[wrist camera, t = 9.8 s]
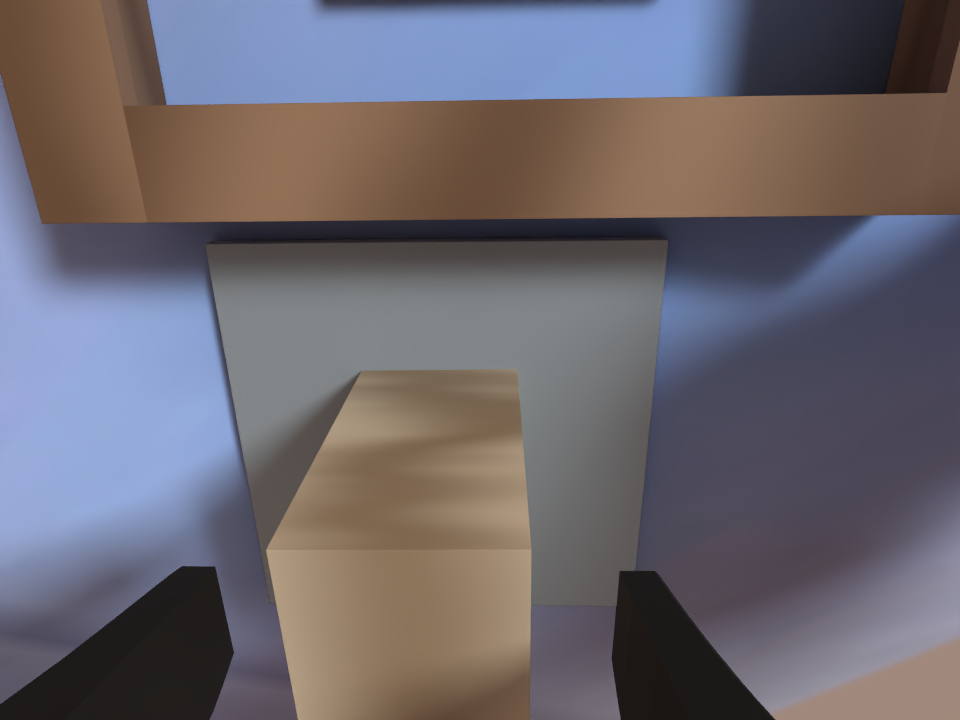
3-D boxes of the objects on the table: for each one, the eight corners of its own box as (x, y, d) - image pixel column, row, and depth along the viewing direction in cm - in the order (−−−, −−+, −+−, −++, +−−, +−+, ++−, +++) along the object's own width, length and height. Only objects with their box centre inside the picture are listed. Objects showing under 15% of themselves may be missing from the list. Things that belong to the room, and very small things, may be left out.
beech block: (517, 369, 16) (531, 549, 9) (517, 501, 17) (529, 737, 11) (361, 370, 16) (266, 549, 9) (374, 501, 17) (300, 735, 11)
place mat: (664, 237, 15) (668, 240, 14) (629, 596, 19) (631, 606, 18) (212, 240, 15) (204, 244, 15) (274, 593, 19) (269, 603, 19)
